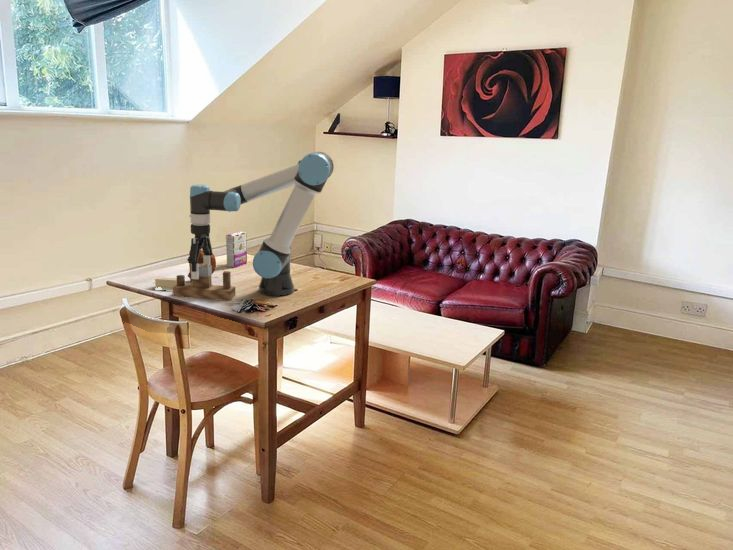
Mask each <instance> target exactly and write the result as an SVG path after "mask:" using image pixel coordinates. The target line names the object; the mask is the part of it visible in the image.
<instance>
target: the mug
mask: <svg viewBox="0 0 733 550" xmlns="http://www.w3.org/2000/svg"><path fill="white" fill-rule="evenodd" d="M188 255H190V251H189V253H188ZM203 256H204V252H203V250H202V249H201V250H200V254H199V258H198V262H197V263H198V264H203ZM188 261H189V256H188V258H187V262H188ZM188 265H189V272H188V274H187V277H188V278H189V281H190V282H191V283H192V279H191V263H188ZM210 265H212V275H213V274H214V273H215V270H216V267H217V261H216V257H215V255H214V253H213V254H212V255H210Z"/></svg>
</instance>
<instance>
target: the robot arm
mask: <svg viewBox="0 0 733 550" xmlns="http://www.w3.org/2000/svg"><path fill="white" fill-rule="evenodd" d="M334 169H335V167H334V161H333V159H332V158H331V156H330V155H329V154H327V153H326V152H323V151H315V152H311V153H308V154H306V155H305V156H303V158H302V159H301V160H298V161H297V164H295V165H291V166H290V167H286V168H284V169H281V170H277V171H276V172H273V173H269V174H267V175H265V176H261V177H259V178H257V179H253V180H251V181H248V182H246V183H244V184H240V185H238V186H234V187H232V188H229V189H227V190H224V191H214V190H211V189H210V188H211V187H210V186H209V185H206V184H192V185H191V186H190V187H189V188H190V189H189V190H190V191H189V210H190V214H189V218H190V233H191V234H192V235H194V237H192V238H190V239H191V241H190V249H189V252H190V255H189V254H188V255H189V256H188V257H189V261H187V262H188V264H189V263H191V279H199V271H198V263H197V262H198V258H199V254H200V250H202V251H203V252H204V256H203V264H209V265H210V255H212V254H214V253H213V249H212V243H211V239H210V233H211V225H210V223H211V211H220V212H221V211H223V212H239V210H240V208H241V205H244V204H247V203H249V202H252V201H254V200H257V199H259V198H263V197H265V196H268V195H271V194H275V193H276V192H279V191H283V190H285V189H288V188H291V187H293V189H292V191H291V193H290V194H289V197H288V199H287V201H286V203H285V205H284V207H283V209H282V211H281V213H280V216H279V217H278V220H277V221H276V224H275V225H274V228H273V230H272V232H271V234H270V236H269V237H266V238H264V239H263V241H262V243H261V246H260V247H259V250H258V252H256V253H255V255H254V256H253V259H252V268H253V270H254V272H255V273H256V274H257V275H258V276H259V277H261V279H260V282H259V285H258V292H259V293H260V294H261V295H265V296H271V297H280V295H283V296H288V295H287V294H289V295H292V294H293V293H294V292H295V285H294V282H293V279H292V278H293V277H291V248H292V246H291V244H292V242H293V240H294V238H295V236H296V234H297V232H298V230H299V227H300V226H301V223H303V220H304V218H305V216H306V214H307V211H308V210H309V208H310V205H311V204H312V202H313V200H314V198H315V196H316V195H319V194H321V193H322V191H323V189H324V187H325V185H326V183H327V181H328V179H329V178H330V177H331V176H332V174H333V172H334Z"/></svg>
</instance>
